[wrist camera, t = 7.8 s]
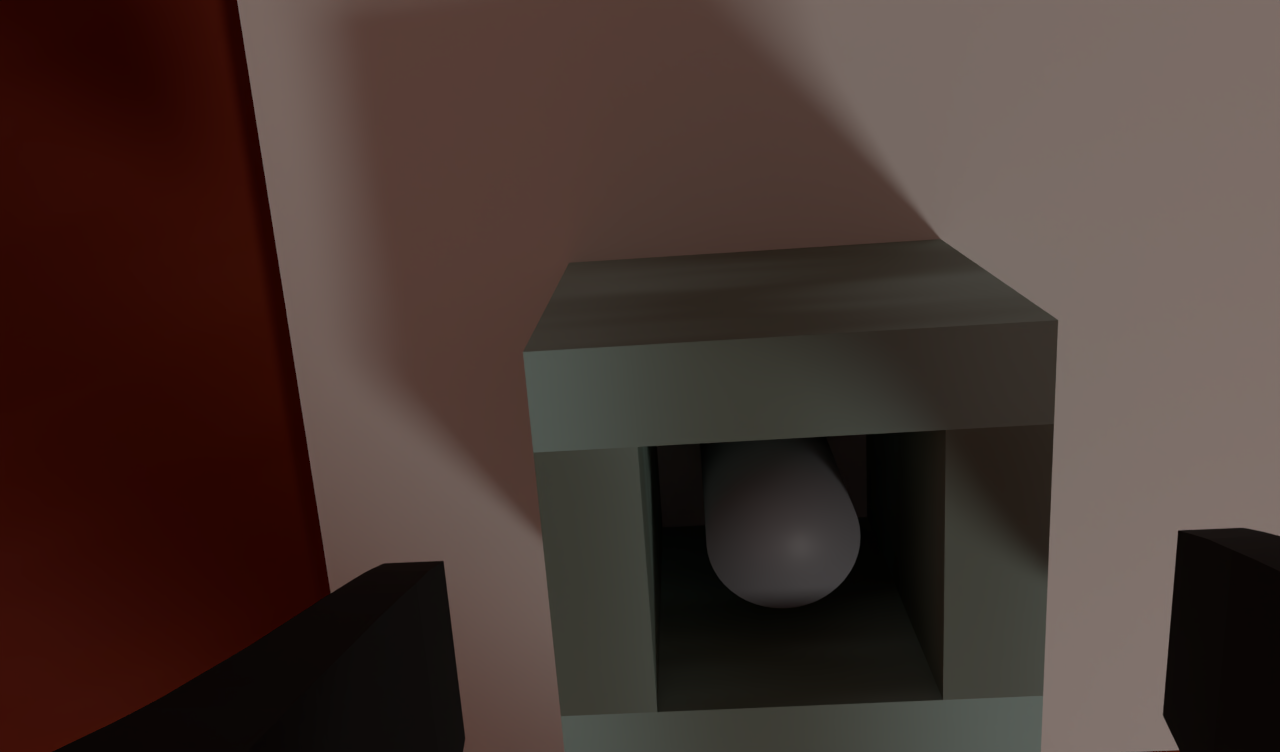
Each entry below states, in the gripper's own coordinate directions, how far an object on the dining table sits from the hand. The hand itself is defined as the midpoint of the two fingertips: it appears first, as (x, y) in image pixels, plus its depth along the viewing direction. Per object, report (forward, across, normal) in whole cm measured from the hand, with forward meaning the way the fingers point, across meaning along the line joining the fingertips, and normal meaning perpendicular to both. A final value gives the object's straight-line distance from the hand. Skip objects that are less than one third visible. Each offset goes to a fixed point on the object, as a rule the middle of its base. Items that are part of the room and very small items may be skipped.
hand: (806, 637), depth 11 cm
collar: (+6, 0, 0) cm, 6 cm away
